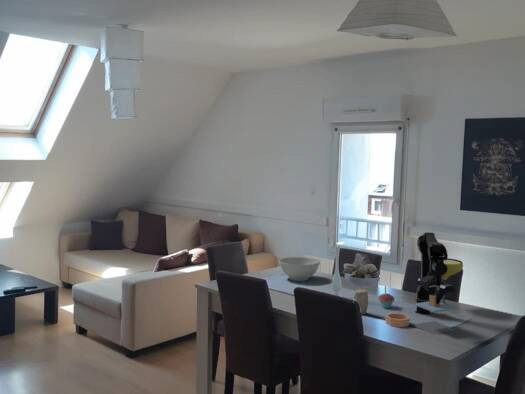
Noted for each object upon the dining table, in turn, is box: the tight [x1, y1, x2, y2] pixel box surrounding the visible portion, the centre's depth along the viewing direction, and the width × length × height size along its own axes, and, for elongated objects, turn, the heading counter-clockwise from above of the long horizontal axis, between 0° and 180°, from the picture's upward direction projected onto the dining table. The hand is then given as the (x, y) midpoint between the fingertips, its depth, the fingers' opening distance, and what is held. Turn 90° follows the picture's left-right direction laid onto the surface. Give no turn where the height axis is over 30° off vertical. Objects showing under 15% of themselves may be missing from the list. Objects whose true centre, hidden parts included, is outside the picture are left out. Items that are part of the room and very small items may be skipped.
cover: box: [414, 293, 456, 313], centre depth 262 cm, size 13×13×6 cm
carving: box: [353, 288, 369, 315], centre depth 286 cm, size 6×8×12 cm
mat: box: [411, 320, 458, 335], centre depth 263 cm, size 15×15×1 cm
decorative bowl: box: [278, 256, 321, 282], centre depth 361 cm, size 27×27×12 cm
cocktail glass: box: [441, 257, 464, 307], centre depth 300 cm, size 18×18×25 cm
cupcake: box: [378, 285, 395, 309], centre depth 298 cm, size 9×8×12 cm
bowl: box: [385, 312, 411, 328], centre depth 268 cm, size 11×11×4 cm
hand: (434, 302), depth 262 cm, fingers closed on cover, 4 cm apart
